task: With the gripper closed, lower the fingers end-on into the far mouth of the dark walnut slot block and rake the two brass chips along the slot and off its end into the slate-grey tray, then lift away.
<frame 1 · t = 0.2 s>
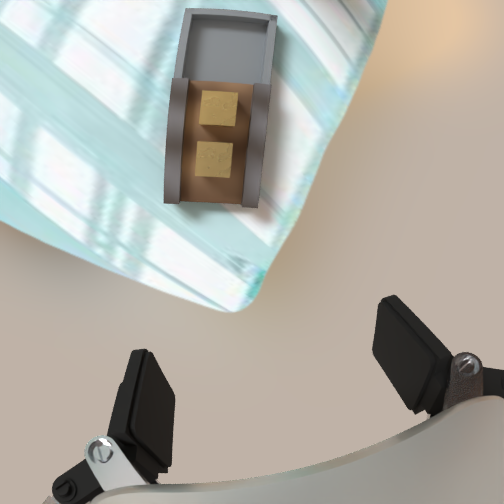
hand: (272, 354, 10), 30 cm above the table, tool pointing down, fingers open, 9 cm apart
chip a: (214, 157, 33), point 2 cm above the table, touching slot block
tray: (225, 48, 29), on the table
chip b: (218, 111, 31), point 2 cm above the table, touching slot block
slot block: (215, 141, 34), on the table
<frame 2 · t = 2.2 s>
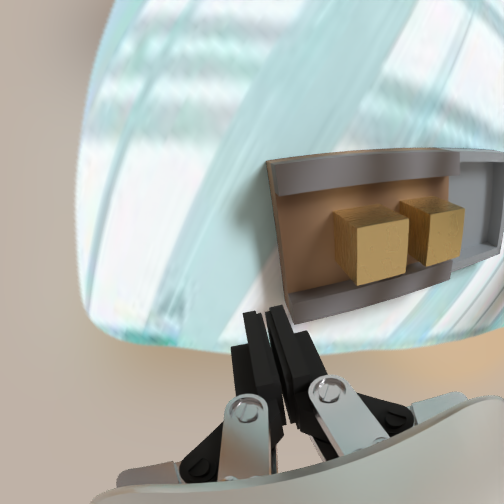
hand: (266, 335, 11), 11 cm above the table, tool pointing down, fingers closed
chip a: (357, 232, 20), point 2 cm above the table, touching slot block
tray: (467, 203, 22), on the table
chip b: (417, 220, 20), point 2 cm above the table, touching slot block
slot block: (367, 220, 22), on the table
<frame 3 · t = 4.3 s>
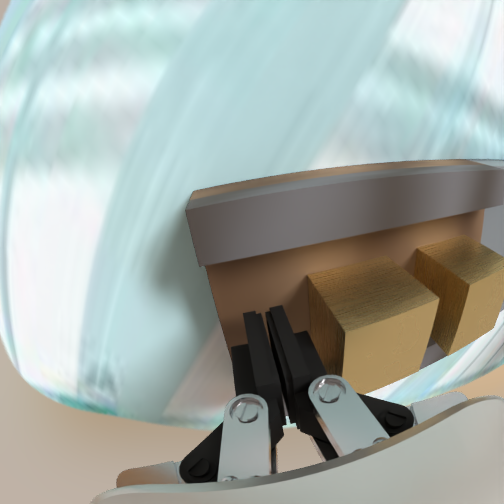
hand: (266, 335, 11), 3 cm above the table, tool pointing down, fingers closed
chip a: (348, 301, 13), point 2 cm above the table, touching gripper
tray: (496, 234, 15), on the table
chip b: (438, 273, 13), point 2 cm above the table, touching slot block
slot block: (364, 274, 15), on the table
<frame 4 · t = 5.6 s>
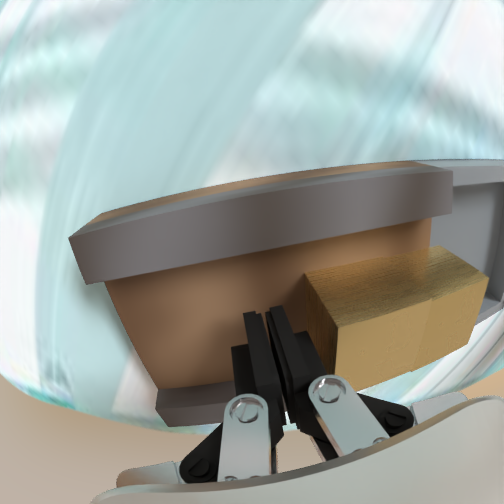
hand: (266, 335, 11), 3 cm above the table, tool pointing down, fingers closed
chip a: (344, 300, 13), point 2 cm above the table, touching gripper, slot block
tray: (462, 244, 15), on the table
chip b: (408, 285, 13), point 2 cm above the table, touching slot block
slot block: (281, 290, 15), on the table
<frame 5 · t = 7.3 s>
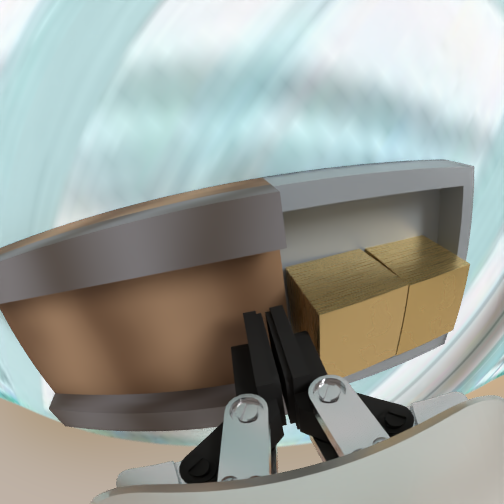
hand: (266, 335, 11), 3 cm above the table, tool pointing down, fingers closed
chip a: (325, 292, 14), point 1 cm above the table, touching gripper, tray
tray: (372, 271, 15), on the table
chip b: (393, 273, 14), point 1 cm above the table, touching tray
slot block: (134, 319, 14), on the table
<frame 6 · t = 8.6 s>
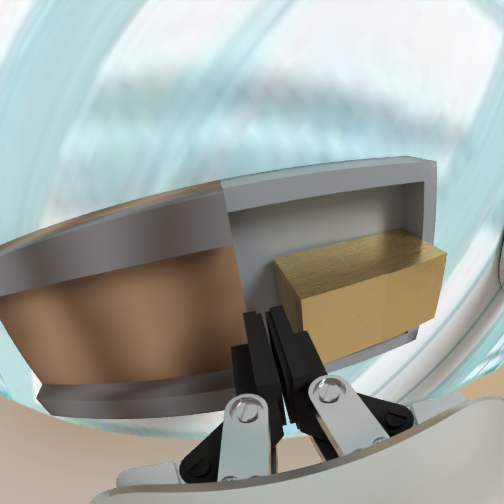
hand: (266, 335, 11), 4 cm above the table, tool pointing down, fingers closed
chip a: (312, 282, 15), point 1 cm above the table, touching chip b
tray: (334, 267, 16), on the table
chip b: (373, 266, 15), point 1 cm above the table, touching chip a, tray
slot block: (110, 313, 15), on the table
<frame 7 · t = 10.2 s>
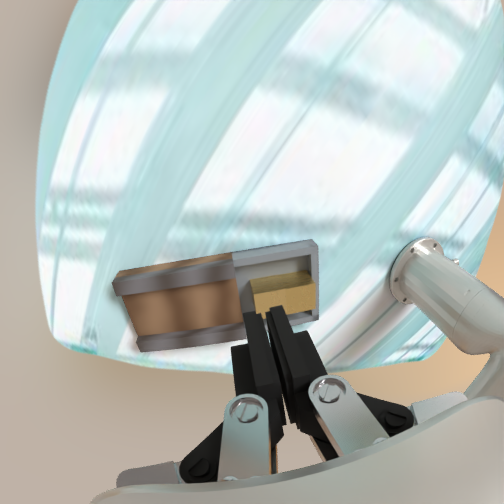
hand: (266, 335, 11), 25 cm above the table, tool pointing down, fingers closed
chip a: (265, 289, 39), point 1 cm above the table, touching chip b, tray
tray: (276, 284, 39), on the table
chip b: (293, 284, 39), point 1 cm above the table, touching chip a, tray
slot block: (182, 299, 38), on the table
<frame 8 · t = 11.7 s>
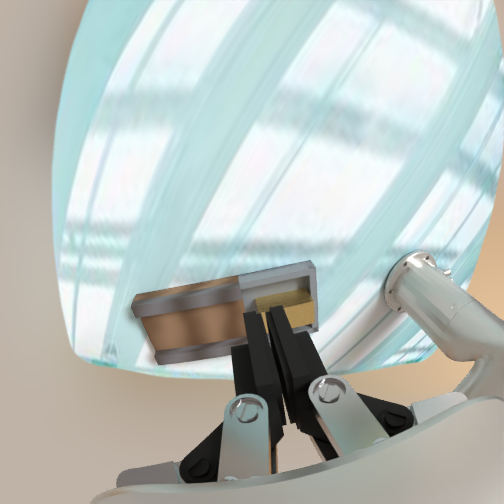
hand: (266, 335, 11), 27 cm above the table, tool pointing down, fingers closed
chip a: (269, 306, 43), point 1 cm above the table, touching chip b, tray
tray: (279, 301, 43), on the table
chip b: (294, 300, 43), point 1 cm above the table, touching chip a, tray
slot block: (195, 317, 43), on the table
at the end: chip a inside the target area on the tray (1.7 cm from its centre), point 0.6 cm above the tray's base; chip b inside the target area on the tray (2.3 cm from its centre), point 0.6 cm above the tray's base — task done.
